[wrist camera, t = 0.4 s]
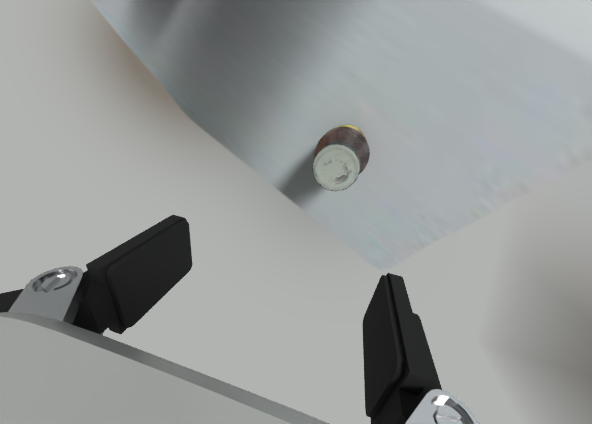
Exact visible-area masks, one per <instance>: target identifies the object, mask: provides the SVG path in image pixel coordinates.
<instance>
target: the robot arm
mask: <svg viewBox="0 0 592 424" xmlns="http://www.w3.org/2000/svg"><path fill="white" fill-rule="evenodd" d="M86 266H87V269H88V270H87V271H86V272H84V273H83V271H82V270H81V269H80V268H78V267H71V266H69V267H60V268H56V269H52V270H50V271H47V272H44V273H43V274H40V275H38V276H37V277H35V278H34V279H32V280H31V281H30V282H29V283H28V284H27V285H26V287H25V288H24V289H21V290H16V291H11V292H6V293H1V294H0V424H329V423H326V422H324V421H321V420H319V419H317V418H314V417H311V416H309V415H307V414H305V413H302V412H299V411H297V410H295V409H292V408H290V407H287V406H284V405H282V404H279V403H277V402H274V401H271V400H269V399H267V398H264V397H261V396H259V395H256V394H254V393H251V392H249V391H246V390H243V389H241V388H238V387H236V386H233V385H231V384H228V383H225V382H223V381H220V380H218V379H215V378H212V377H210V376H207V375H205V374H202V373H200V372H197V371H194V370H192V369H189V368H186V367H184V366H181V365H178V364H176V363H174V362H171V361H168V360H166V359H163V358H161V357H158V356H155V355H153V354H150V353H147V352H144V351H142V350H139V349H137V348H134V347H131V346H129V345H126V344H124V343H121V342H118V341H116V340H113V339H110V338H108V337H105V336H103V332H104V331H105V330H106V329H107V328H108V327H109V329H110V330H111V331H113V332H116V333H119V334H122V333H123V332H124V331H125V330H126V329H127V328H129V327H132V326H133V325H134V324H135V323H136V322H138V320H140V319H141V318H142V317H143V316H144V315H145V313H147V312H148V311H149V310H150V309H151V308H152V307H153V306H154V305H155V304H156V303H157V302H158V301H159V300H160V299H161V298H162V297H163V296H164V295H165V294H166V293H167V292H168V291H169V290H170V289H171V288H172V287H173V286H174V285H175V284H176V283H177V282H179V281H180V280H181V279H182V278H183V277H184V276H185V275H186V274H187V273H188V272H189V271H190V269H191V267H192V256H191V245H190V232H189V224H188V222H187V220H186V219H185V218H183V217H179V216H175V215H172V216H170V217H168V218H166V219H164V220H163V221H161V222H159V223H158V224H156V225H154V226H152V227H151V228H149V229H147V230H145V231H144V232H142V233H140V234H138V235H137V236H135V237H133V238H132V239H130V240H128V241H126V242H125V243H123V244H121V245H119V246H118V247H116V248H114V249H113V250H111V251H109V252H107V253H106V254H104V255H102V256H100V257H99V258H97V259H95V260H93V261H92V262H90V263H88V264H87V265H86ZM363 348H364V379H365V408H366V415H367V416H368V417H371V424H479V422H478V421H477V419H476V418H475V416H474V415H473V413H472V412H471V411H470V410H469V408H468V407H467V406H466V405H465V404H464V403H463V402H462V401H461V400H459V399H458V398H457V397H455V396H454V395H452V394H450V393H449V392H447V391H444V390H442V388H441V385H440V382H439V378H438V375H437V372H436V369H435V366H434V363H433V359H432V356H431V353H430V349H429V346H428V343H427V339H426V336H425V333H424V330H423V326H422V323H421V320H420V318H419V316H418V315H417V314H414V313H413V312H412V309H411V305H410V302H409V298H408V294H407V291H406V287H405V284H404V280H403V278H402V277H401V276H397V275H393V274H390V273H388V274H387V275H386V276H384V275H382V276H381V278H380V280H379V283H378V285H377V288H376V290H375V292H374V295H373V297H372V300H371V302H370V304H369V306H368V309H367V311H366V313H365V316H364V319H363Z"/></svg>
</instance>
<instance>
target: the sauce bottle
mask: <svg viewBox="0 0 592 424" xmlns="http://www.w3.org/2000/svg"><path fill="white" fill-rule="evenodd" d="M368 160H369V146H368V143H367V140H366V139H365V136H364V135H363V133H362V132H361V131H360V130H359V129H358V128H357V127H355V126H352V125H342V126H338V127H336V128H334V129H332V130H330V131H329V132H327V133H326V134H325V135H324V136H323V137H322V138H321V139H320V141H319V142H318V144H317V147H316V150H315V159H314V161H313V175H314V177H315V179H316V181H317V182H318V183H319V184H320V185H321V186H322V187H324V188H325V189H328V190H331V191H339V190H344V189H346V188H348V187H350V186H351V185H352V184H353V183H354V182H355V181H356V179H357V177H358V175H359V174H360V173H361V172H362V171H363V170H364V168H365V167H366V165H367V163H368Z"/></svg>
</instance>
